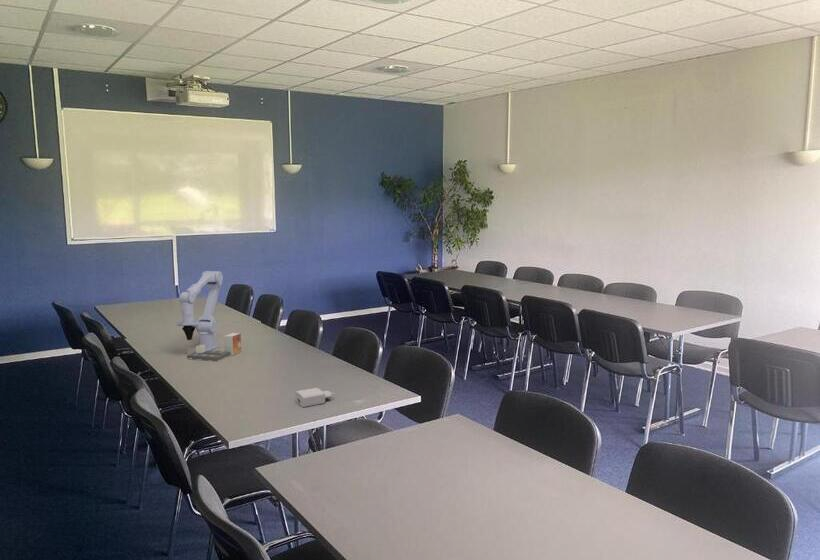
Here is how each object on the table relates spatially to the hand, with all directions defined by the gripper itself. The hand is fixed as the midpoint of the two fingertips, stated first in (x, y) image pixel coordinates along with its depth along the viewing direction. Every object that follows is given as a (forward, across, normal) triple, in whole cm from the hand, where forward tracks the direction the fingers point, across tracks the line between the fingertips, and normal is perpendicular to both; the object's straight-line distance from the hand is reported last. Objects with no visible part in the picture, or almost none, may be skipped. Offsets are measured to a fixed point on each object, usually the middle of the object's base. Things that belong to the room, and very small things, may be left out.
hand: (189, 339), depth 319 cm
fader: (+6, +7, 0) cm, 9 cm away
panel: (+9, +12, 0) cm, 14 cm away
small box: (+9, +20, +10) cm, 24 cm away
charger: (+9, +98, -48) cm, 110 cm away
